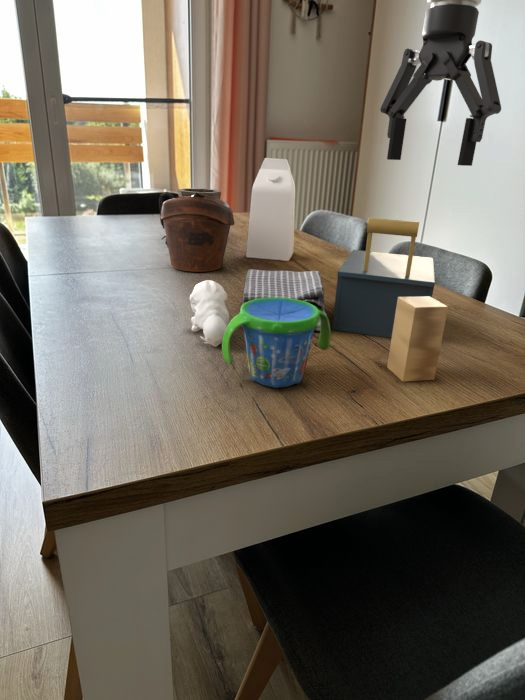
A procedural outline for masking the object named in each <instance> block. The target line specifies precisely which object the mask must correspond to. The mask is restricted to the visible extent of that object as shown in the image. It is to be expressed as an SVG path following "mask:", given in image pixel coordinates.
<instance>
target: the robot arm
mask: <svg viewBox="0 0 525 700" xmlns="http://www.w3.org/2000/svg"><path fill="white" fill-rule="evenodd" d="M481 3H482V0H426V5H427V6H428V8H427V9H426V10H425V12H424V18H423V19H424V20H423V24H422V25H423V26H422V32H421V37H422V42H423V43H422V46H421V49H420V50H417V49H412V48H405V50H404V51H403V55H402V59H401V63H400V66H399V68H398V70H397V72H396V74H395V76H394V79H393V81H392V82H391V85H390V87H389V89H388V91H387V93H386V96H385V98H384V99H383V102H382V105H381V106H380V112H381V113H382V114H385V115H387V116H388V118H389V119H388V127H387V133H386V134H387V135H386V136H387V139H389V141H388V142H389V143H388V149H387V156H386V160H387V161H388V160H389V161H401V160H402V153H403V146H404V139H405V132H406V131H405V130H406V127H407V118H405V114H406V112H407V111H408V110H409V108H410V107H411V106H412V104H413V103H414V102H415V101H416V99H417V98H418V97H419V96H420V95H421V93H422V92H423V90H425V88H426V86H427V85H430V84H431V83H432V82H433V81H435V82H438V81H443V80H447V81H454V83H455V85H456V87H457V89H458V90H459V93H460V94H461V97H462V99H463V100H464V102H465V105H466V106H467V109H468V111H469V112H470V115H469V117H466V118H465V122H464V128H463V132H462V133H463V134H462V137H461V138H462V139H461V144H460V149H459V155H458V160H457V166H466V167H469V166H470V167H471V166H472V167H473V162H474V156H475V151H476V147H477V143H481V141H482V140H483V135H484V130H485V126H486V120H487V119H488V118H489V117H491V116H493V115H498V114H500V113H501V111H502V104H501V100H500V94H499V90H498V86H497V82H496V78H495V72H494V67H493V63H492V54H493V44H492V43H491V42H487V41H484V40H478V41H476V43H475V44H473V38H475V35H476V31H477V25H478V20H479V14H480V11H479V9H478V8H477V7H478V6H479V5H480V4H481ZM470 59H472V60H473V65H474V68H475V74H476V78H477V82H478V83H477V84H478V88H479V90H478V89H477V87H476V85H475V83H474V81H473V79H472V73H471V72H470V69H469V68H468V65H467V63H468V61H469V60H470ZM418 65H419V67H418ZM417 67H418V68H417ZM479 91H480V93H479Z"/></svg>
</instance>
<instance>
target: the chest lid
mask: <svg viewBox="0 0 525 700" xmlns="http://www.w3.org/2000/svg"><path fill="white" fill-rule="evenodd" d="M419 227H420V221H415V220H403V219H401V220H400V219H390V218H379V217H368V220H367V226H366V228H367V229H366V233H367V235H366V236H367V238H366V245H365V250H361V249H352V251H350V253H349V255H348V256H347V258H346V259H345V261H344V262H343V263H342V264H341V266H340V267H339V269H338V270H337V274H336V276H337V277H338V276H343V277H351V278H360V279H369V280H377V281H386V282H394V283H403V284H411V285H420V286H428V287H434V288H435V285H436V279H435V278H436V277H435V263H434V261H435V260H434V257H429V256H418V255H414V252H415V245H416V239H417V237H418V234H419ZM373 234H378V235H379V234H380V235H388V236H389V235H390V236H402V237H410V243H409V249H408V254H398V253H391V252H390V253H389V252H388V253H387V252H378V251H371V247H372V240H373Z"/></svg>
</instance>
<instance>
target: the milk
mask: <svg viewBox="0 0 525 700" xmlns="http://www.w3.org/2000/svg"><path fill="white" fill-rule="evenodd" d="M295 213H296V185H295V180H294V177H293V173H292V170H291V167H290V164H289V161H288V159H286V158H273V157H272V158H271V157H265V158H263V161H262V163H261V166H260V168H259V170H258V172H257V175H256V177H255V179H254V181H253V185H252V188H251V196H250V207H249V218H248V231H247V241H246V252H245V257H246V258H253V259H263V260H275V261H284V262H285V261H286V262H287V261H290V259H291V258H292V256H293V255H294V253H295V251H294V249H295V248H294V247H295V220H296V219H295V216H296V215H295Z"/></svg>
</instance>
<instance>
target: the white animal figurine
mask: <svg viewBox="0 0 525 700" xmlns="http://www.w3.org/2000/svg"><path fill="white" fill-rule="evenodd" d="M224 289H225V288H224V287H223V286H222V285H221V284H219V283H218V282H216V281H214V280H209V279H207V280H203V281H201V282H199V283H197V284H195V285H194V288H193V290H192V291H191V293H190V295H189V302H190V308H191V311H192V312H193V314H194V315H193V316H191V319H190V322H191V324H192V326H191V331H192V332H194V333H195V332H199V331H200V330H202V332H203V336H202V335H199V337H200V339H201V340H203V342H205V344H209V345H211V346H213V347H214V348H217V347H218V346H219V345H222V341H223V336H224V333H225V331H226V328H227V326H228V324H229V323H230V313H229V310H227V306H226V301H227V300H228V294H227V293H226V291H225V290H224Z"/></svg>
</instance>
